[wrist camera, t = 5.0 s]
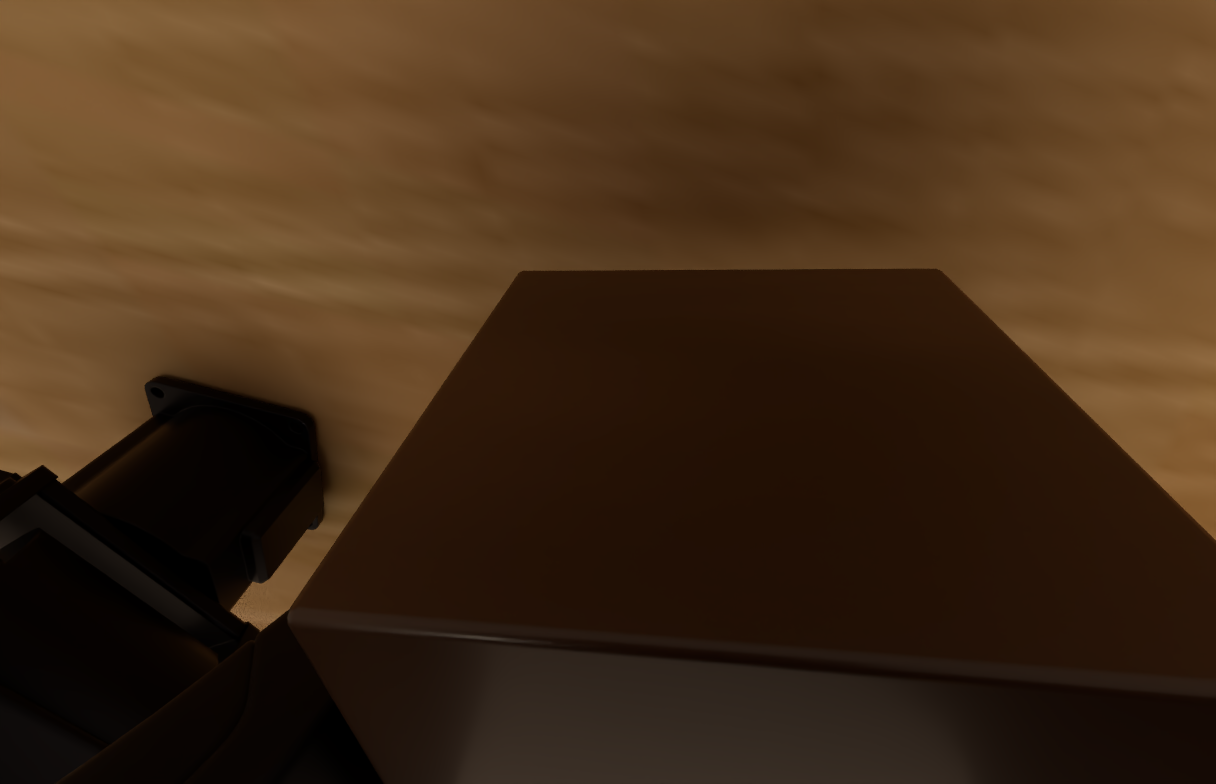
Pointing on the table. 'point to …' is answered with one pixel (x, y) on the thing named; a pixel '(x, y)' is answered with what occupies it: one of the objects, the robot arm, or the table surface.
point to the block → (764, 553)
